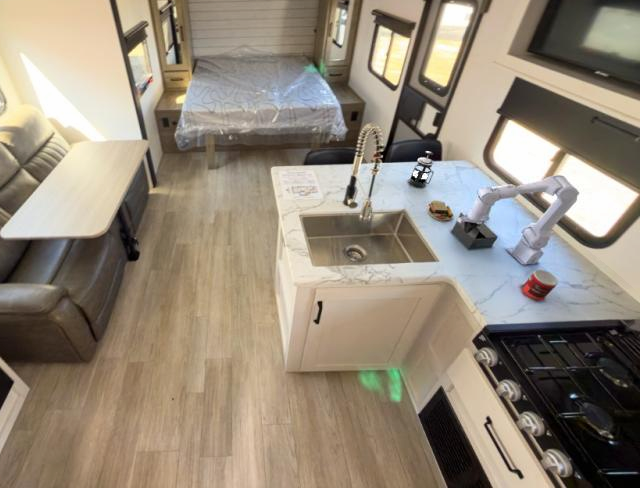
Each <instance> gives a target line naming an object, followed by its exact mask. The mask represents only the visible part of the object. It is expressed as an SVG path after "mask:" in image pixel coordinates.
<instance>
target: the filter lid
mask: <svg viewBox="0 0 640 488" xmlns="http://www.w3.org/2000/svg"><path fill="white" fill-rule="evenodd" d="M465 215H466V214H464V213H463V212H460V214H459V215H458V217H457V219H456V222H457V223H458V224H459V225H460V226H461V227H462V228H463V229H464V222H462V223H459V222H458V221H457V220H458V218H460V217H463V216H465ZM456 222H455V223H456ZM479 231H480V230H479V229H478V228H477V227H476V228H474V229H473V230H472V231H471V232H469V233H468V234H470V235H471V236H472V237H473V238H474V239H475V238H476V236H477V234H478V233H479Z"/></svg>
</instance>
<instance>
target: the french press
mask: <svg viewBox="0 0 640 488" xmlns="http://www.w3.org/2000/svg"><path fill="white" fill-rule="evenodd" d="M424 154H426V155H427V156H426V157H422V156H421V157H418V158H417V164H415V165H414V167H413V171H412V174H411V176H410V179H409V180H408V184H409V185H411V186H412V187H414V188H418V189H421V188H425V186H426V184H427V185H429V184H430V183H431V181H432V178H433V176H434V173H435V171H434V170H432V167H433V165H434V164H435V162H434V160H432V159H431V158H429V156H432V155H434V153H433V152H432V151H428V150H426V151H425V153H424ZM417 167H422V169H421V170H420V169H418V168H417ZM427 169H428V170H429V171H426V170H427ZM430 174H431V175H430ZM429 176H430V177H429ZM428 179H429V181H428Z"/></svg>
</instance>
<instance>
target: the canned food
mask: <svg viewBox="0 0 640 488" xmlns="http://www.w3.org/2000/svg"><path fill="white" fill-rule="evenodd" d="M558 283H559V280H558V279H557V277H556V276H555V275H554V274H552V273H551V272H549V271H546V270H545V269H536V270H535V271H533V273H532V274H531V275H530V276H529V278H528V279H527V280H526V281H525V282H524V283H523V285H522V286H521V291H522V293H523V294H524V295H525V296H526V297H527V298H528V299H531V300H532V301H536V302H537V301H543V300H544V299H546V297H547V296H548V295H549V294H550V293H551V292H552V291H553V290H554V289H555V288H556V286H557V285H558Z"/></svg>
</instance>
